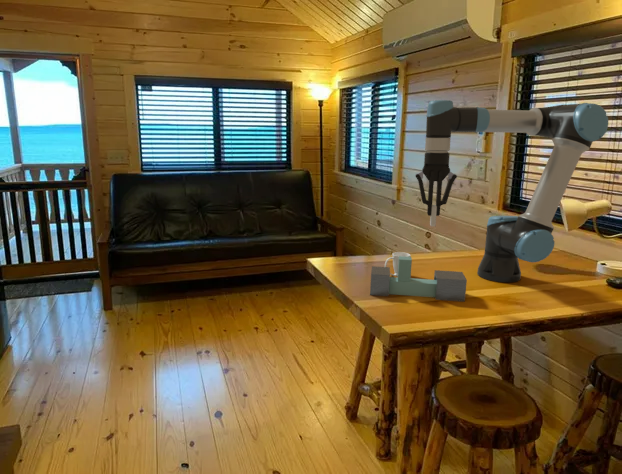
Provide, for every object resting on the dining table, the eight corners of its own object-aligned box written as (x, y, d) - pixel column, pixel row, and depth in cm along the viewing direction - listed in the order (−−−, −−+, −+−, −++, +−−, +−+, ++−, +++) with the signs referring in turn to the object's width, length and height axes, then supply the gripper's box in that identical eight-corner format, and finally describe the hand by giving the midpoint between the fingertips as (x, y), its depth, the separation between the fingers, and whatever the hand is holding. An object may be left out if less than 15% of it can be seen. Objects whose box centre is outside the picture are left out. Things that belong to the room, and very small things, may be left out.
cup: (413, 277, 174) (414, 256, 172) (388, 279, 171) (390, 257, 169) (403, 271, 181) (405, 251, 179) (380, 273, 178) (381, 252, 176)
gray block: (460, 292, 159) (462, 271, 157) (464, 301, 150) (466, 280, 149) (433, 290, 160) (434, 270, 158) (435, 299, 152) (437, 278, 150)
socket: (388, 287, 162) (389, 267, 161) (388, 296, 154) (389, 275, 152) (370, 286, 163) (371, 266, 162) (370, 294, 155) (371, 274, 153)
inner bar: (445, 293, 157) (448, 258, 155) (446, 298, 153) (450, 262, 150) (381, 289, 161) (383, 255, 158) (381, 293, 156) (383, 258, 153)
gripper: (456, 151, 150) (451, 223, 155) (415, 150, 152) (411, 222, 157) (460, 152, 143) (455, 228, 148) (416, 152, 144) (413, 227, 150)
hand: (432, 225), depth 153 cm, fingers closed
